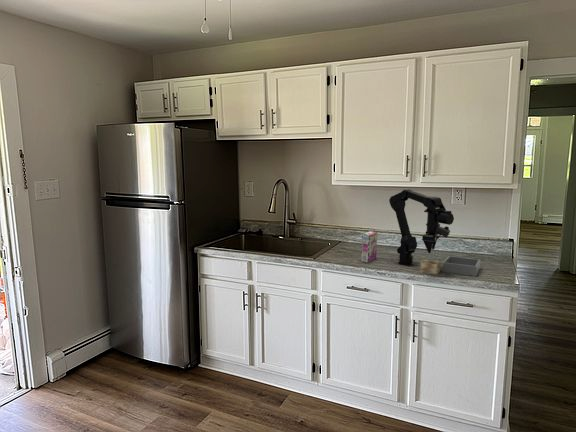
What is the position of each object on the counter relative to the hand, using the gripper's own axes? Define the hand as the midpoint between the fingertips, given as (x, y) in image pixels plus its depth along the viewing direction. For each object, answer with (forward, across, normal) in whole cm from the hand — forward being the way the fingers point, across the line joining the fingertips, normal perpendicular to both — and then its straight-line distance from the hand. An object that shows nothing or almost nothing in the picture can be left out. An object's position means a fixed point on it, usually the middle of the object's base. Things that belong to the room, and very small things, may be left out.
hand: (431, 251), depth 213 cm
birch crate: (+11, 0, 0) cm, 11 cm away
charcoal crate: (+11, +10, -14) cm, 20 cm away
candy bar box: (+11, +4, +35) cm, 37 cm away
